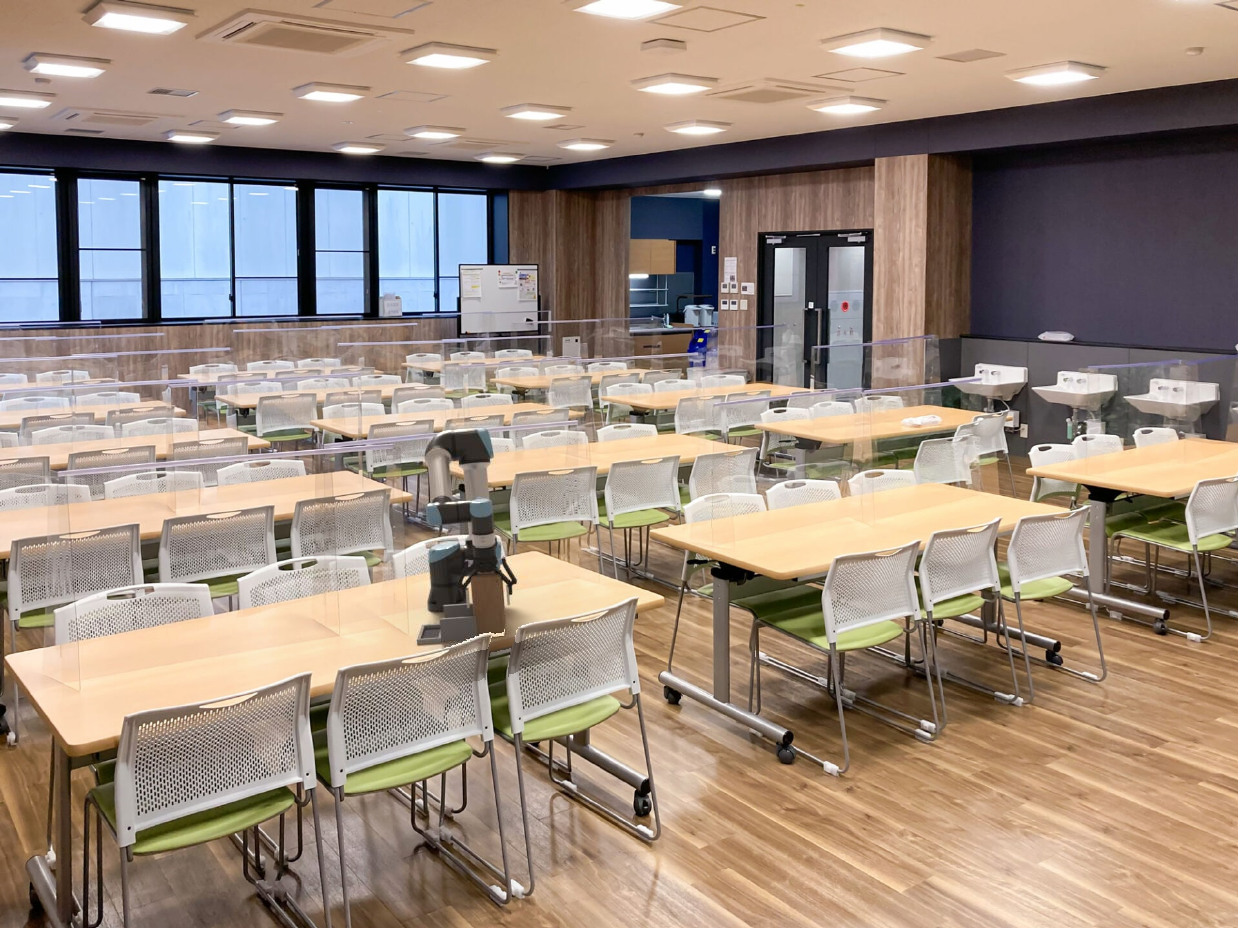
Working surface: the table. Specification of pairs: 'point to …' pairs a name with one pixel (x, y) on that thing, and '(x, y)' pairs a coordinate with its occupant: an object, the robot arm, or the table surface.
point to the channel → (458, 623)
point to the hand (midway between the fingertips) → (488, 605)
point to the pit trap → (429, 634)
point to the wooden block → (488, 602)
